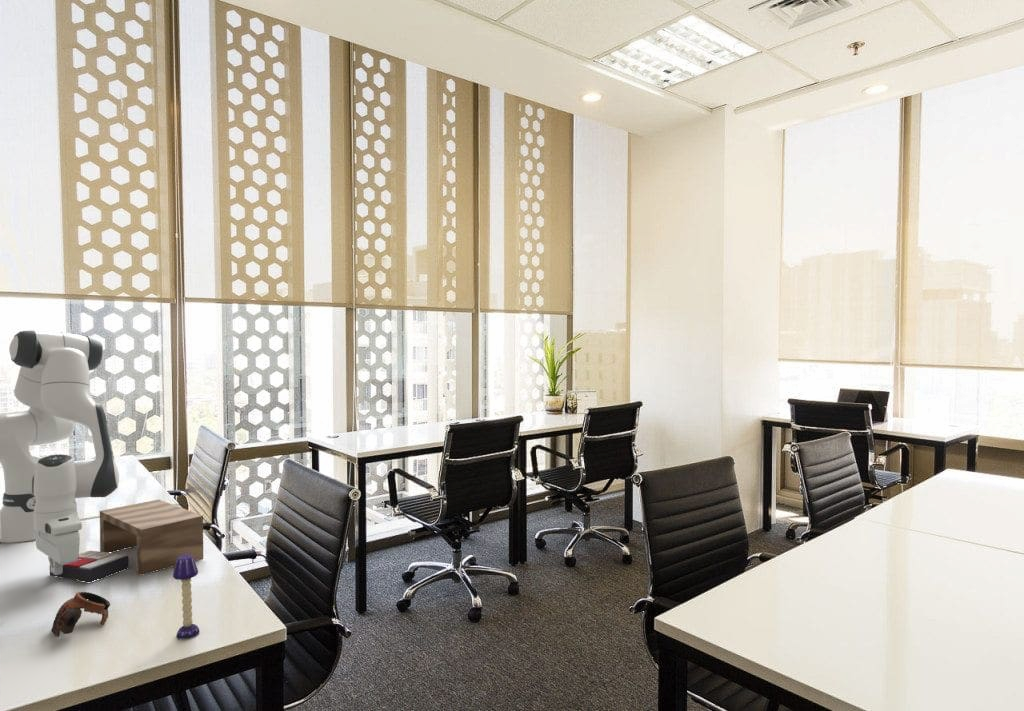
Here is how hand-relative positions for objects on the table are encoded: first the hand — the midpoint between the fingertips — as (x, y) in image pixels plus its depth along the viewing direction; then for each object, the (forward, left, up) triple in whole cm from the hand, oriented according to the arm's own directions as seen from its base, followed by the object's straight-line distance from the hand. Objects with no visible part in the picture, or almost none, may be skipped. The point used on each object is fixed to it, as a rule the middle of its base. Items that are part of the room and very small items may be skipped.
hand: (56, 573), depth 157 cm
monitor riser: (0, +23, -2) cm, 23 cm away
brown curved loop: (+35, -6, -2) cm, 36 cm away
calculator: (0, +7, -2) cm, 8 cm away
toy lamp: (+56, +7, -2) cm, 56 cm away
